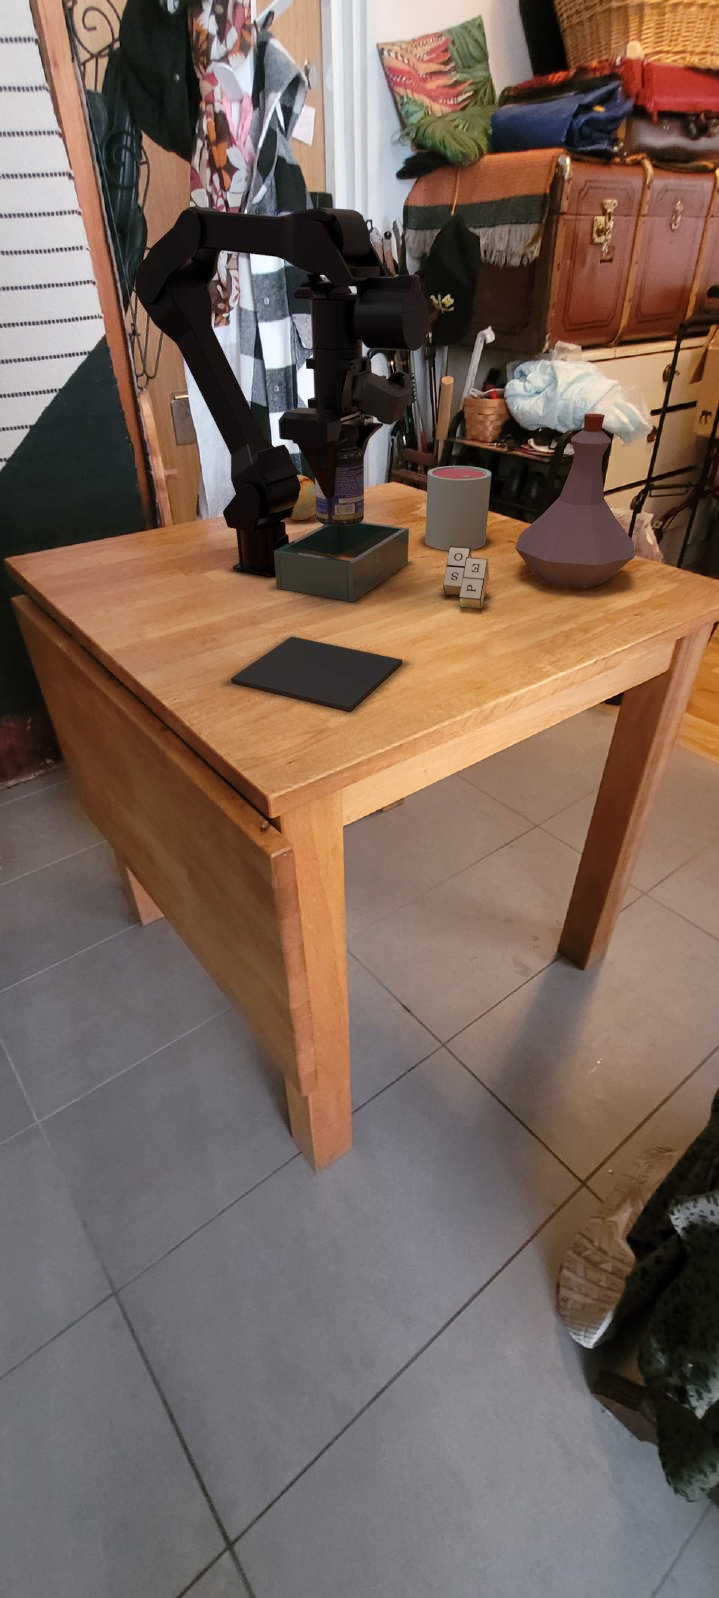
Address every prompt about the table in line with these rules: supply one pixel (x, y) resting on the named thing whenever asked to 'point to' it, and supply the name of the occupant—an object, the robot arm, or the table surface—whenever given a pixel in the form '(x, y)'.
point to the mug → (457, 507)
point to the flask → (578, 523)
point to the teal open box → (321, 574)
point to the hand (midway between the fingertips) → (340, 491)
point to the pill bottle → (344, 485)
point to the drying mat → (318, 673)
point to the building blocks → (466, 577)
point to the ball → (305, 500)
